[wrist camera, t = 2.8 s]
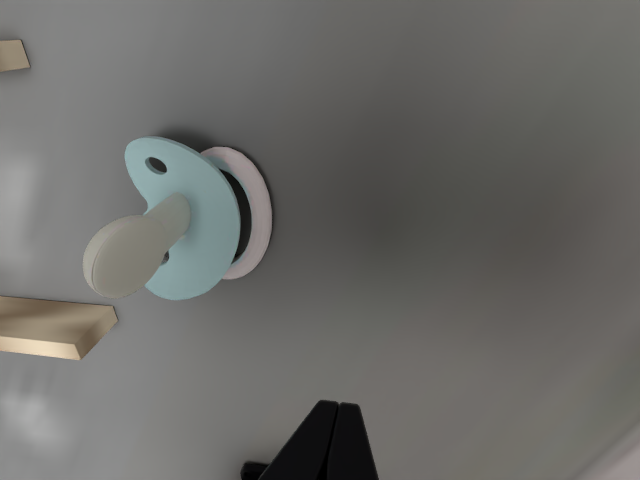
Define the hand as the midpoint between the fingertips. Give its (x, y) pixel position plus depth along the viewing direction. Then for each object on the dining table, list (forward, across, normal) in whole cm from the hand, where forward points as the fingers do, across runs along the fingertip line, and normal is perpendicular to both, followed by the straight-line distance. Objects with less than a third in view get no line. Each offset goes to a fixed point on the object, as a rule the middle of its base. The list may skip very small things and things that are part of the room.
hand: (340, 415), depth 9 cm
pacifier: (+10, +7, 0) cm, 13 cm away
